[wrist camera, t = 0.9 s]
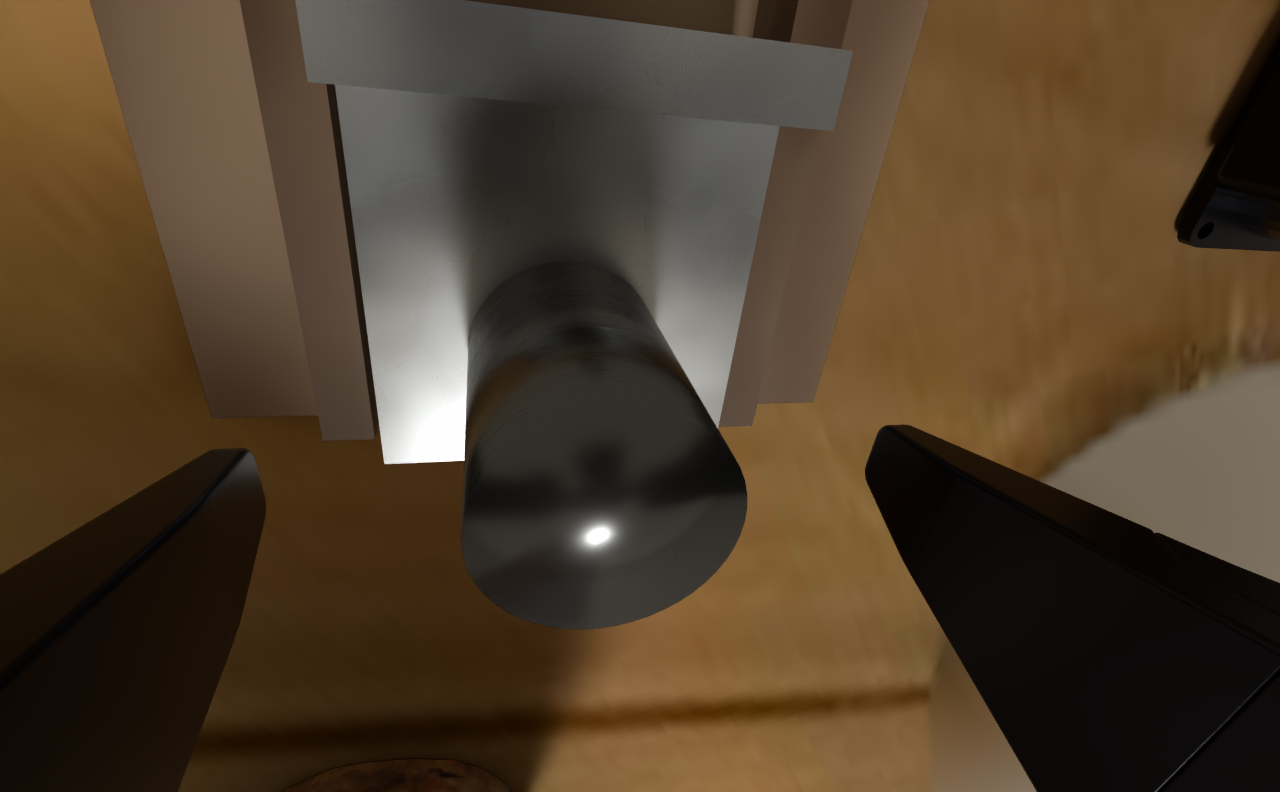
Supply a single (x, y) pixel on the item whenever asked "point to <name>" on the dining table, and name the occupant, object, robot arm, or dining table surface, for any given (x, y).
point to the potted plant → (404, 778)
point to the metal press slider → (562, 275)
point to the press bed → (321, 211)
